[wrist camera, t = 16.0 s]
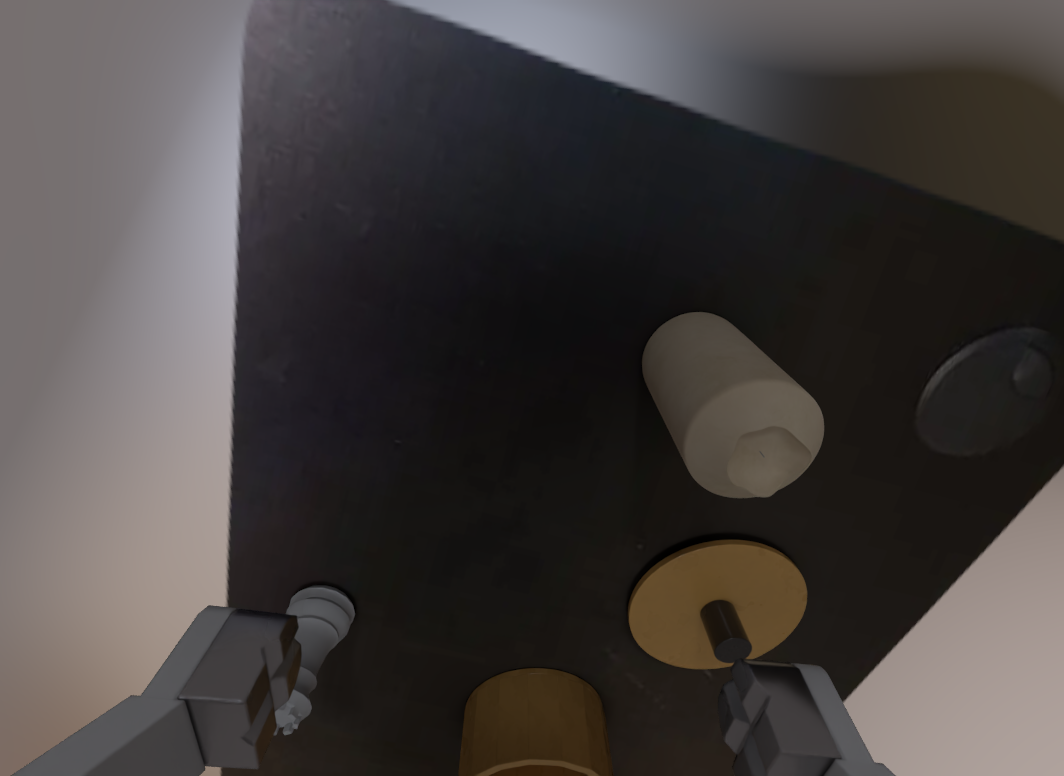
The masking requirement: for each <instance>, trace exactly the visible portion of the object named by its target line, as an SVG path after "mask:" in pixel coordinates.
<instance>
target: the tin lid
mask: <svg viewBox="0 0 1064 776" xmlns="http://www.w3.org/2000/svg"><path fill="white" fill-rule="evenodd" d="M806 603H807V589H806V584H805V581H804V579H803V576H802V575H801V573H800V572H799V570H798V568H797V567H796V565H795V564H794V563H793V562H792V561H791V560H790V559H789V558H788V557H787V556H785V555H784V554H783V553H781V552H779V551H778V550H776V549H774V548H772V547H769V546H767V545H764V544H761V543H757V542H753V541H746V540H716V541H710V542H704V543H700V544H697V545H693V546H690V547H687V548H685V549H682V550H679V551H677V552H675V553H673V554H671V555H669V556H668V557H666V558H664V559H663V560H661V561H660V562H658V563H657V564H656V565H655V566H653V567H652V568H651V569H650V570H649V571H648V572H647V573H646V574H645V575H644V576H643V577H642V578H641V580H640V581H639V582H638V583H637V585H636V587H635V589H634V590H633V592H632V595H631V598H630V600H629V605H628V621H629V626H630V630H631V632H632V635H633V637H634V638H635V640H636V642H637V643H638V644H639V645H640V647H641V648H642V649H643V650H644V651H646V652H647V653H648V654H649V655H651V656H653V657H654V658H656V659H658V660H660V661H662V662H664V663H667V664H670V665H673V666H678V667H683V668H690V669H715V668H722V667H728V666H733V664H734V662H735V661H736V660H738V659H740V658H743V659H754V658H756V657H759V656H760V655H762V654H764V653H766V652H768V651H769V650H771V649H773V648H774V647H776V646H777V645H778V644H780V643H781V642H782V641H783V640H784V639H786V638H787V637H788V636H789V635H790V634H791V633H792V631H793V630H794V629H795V627H796V626H797V625H798V623H799V621H800V620H801V618H802V616H803V613H804V611H805V608H806Z"/></svg>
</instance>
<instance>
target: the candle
mask: <svg viewBox="0 0 1064 776" xmlns="http://www.w3.org/2000/svg"><path fill="white" fill-rule="evenodd" d="M642 371H643V376H644V380H645V382H646V384H647V387H648V389H649V391H650V393H651V395H652V397H653V399H654V401H655V403H656V405H657V407H658V410H659V412H660V414H661V416H662V418H663V420H664V422H665V424H666V426H667V428H668V430H669V432H670V434H671V436H672V438H673V440H674V442H675V444H676V446H677V448H678V450H679V452H680V454H681V456H682V458H683V460H684V462H685V464H686V466H687V468H688V470H689V472H690V474H691V475H692V477H693V478H694V479H695V481H696V482H697V483H699V484H700V485H701V486H702V487H704V488H705V489H707V490H708V491H710V492H713V493H715V494H718V495H721V496H725V497H731V498H750V497H769V496H771V495H773V494H774V493H775V492H776V491H777V490H779V489H782V488H783V487H785V486H787V485H788V484H790V483H791V482H793V481H794V480H796V479H797V478H798V477H799V476H800V475H801V474H802V473H803V472H804V471H805V470H806V469H807V468H808V467H809V465H810V464H811V463H812V461H813V460H814V458H815V457H816V455H817V453H818V451H819V449H820V446H821V444H822V440H823V435H824V420H823V416H822V412H821V410H820V408H819V406H818V404H817V403H816V401H815V400H814V399H813V398H812V397H811V396H810V395H809V394H808V393H807V392H806V391H805V390H804V389H803V388H802V387H801V386H800V385H798V384H797V383H796V382H795V381H794V380H793V379H792V378H791V377H790V376H789V375H788V374H786V373H785V372H784V371H783V370H782V369H781V368H780V367H779V366H778V365H777V364H775V363H774V362H773V361H772V360H771V359H770V358H769V357H768V356H767V355H766V354H764V353H763V352H762V351H761V350H760V349H759V348H758V347H757V346H756V345H755V344H753V343H752V342H751V341H750V340H749V339H748V338H747V337H746V336H745V335H744V334H743V333H741V332H740V331H739V330H738V329H737V328H736V327H735V326H733V325H732V324H731V323H730V322H728V321H727V320H725V319H724V318H722V317H719V316H717V315H714V314H711V313H706V312H691V313H686V314H682V315H679V316H677V317H674V318H672V319H670V320H669V321H667V322H666V323H664V324H663V325H662V326H660V327H659V328H658V329H657V330H656V331H655V332H654V334H653V335H652V336H651V338H650V339H649V341H648V343H647V345H646V347H645V350H644V352H643V357H642Z"/></svg>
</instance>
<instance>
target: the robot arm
mask: <svg viewBox="0 0 1064 776" xmlns="http://www.w3.org/2000/svg"><path fill="white" fill-rule="evenodd" d="M298 629H299V626H298V620H297V615H288V614H280V613H271V612H263V611H254V610H246V609H239V608H230V607H219V606H207V607H206V608H205V609H204V610H203V611H201V612H200V613H199V614H198V615H197V617H196V618H195V620H194V621H193V622H192V624H191V625H190V627H189V628H188V629H187V631H186V632H185V634H184V635H183V637H182V638H181V639H180V641H179V642H178V644H177V645H176V646H175V648H174V649H173V651H172V652H171V654H170V655H169V656H168V658H167V659H166V661H165V662H164V664H163V665H162V666H161V668H160V669H159V671H158V672H157V674H156V675H155V676H154V678H153V679H152V681H151V682H150V683H149V685H148V686H147V688H146V689H145V690H144V692H143V693H142V695H141V696H134V695H133V696H132V695H131V696H130V697H128V698H127V699H125V700H124V701H122V702H121V703H119V704H118V705H116V706H115V707H113V708H112V709H110V710H109V711H107V712H106V713H104V714H103V715H101V716H100V717H98V718H97V719H95V720H94V721H92V722H91V723H89V724H88V725H86V726H85V727H83V728H82V729H80V730H79V731H77V732H76V733H74V734H73V735H71V736H70V737H68V738H67V739H65V740H64V741H62V742H61V743H59V744H58V745H56V746H55V747H53V748H52V749H50V750H49V751H47V752H46V753H44V754H43V755H41V756H40V757H38V758H37V759H35V760H34V761H32V762H31V763H29V764H28V765H26V766H25V767H23V768H22V769H20V770H19V771H17V772H16V773H14V774H13V775H11V776H199V775H201V774H202V773H203V771H205V766H211V767H229V768H248V769H259V766H260V764H261V762H262V760H263V757H264V755H265V753H266V751H267V748H268V746H269V744H270V742H271V739H272V737H273V735H274V733H275V730H276V728H277V723H276V717H275V711H276V710H278V709H279V708H280V707H281V706H282V705H284V704H285V703H286V702H287V701H289V698H290V696H291V694H292V691H293V689H294V687H295V684H296V681H297V677H298V673H299V670H300V666H301V657H302V650H301V644H300V643H299V642H298V641H297V640H296V639H295V638H294V637H295V635H296V633H297V631H298ZM731 673H732V676H733V679H732V680H731V681H729V682H727V683H726V684H724V685H723V687H722V689H721V692H720V694H719V698H718V717H719V723H720V728H721V731H722V735H723V738H724V741H725V742H726V743H727V744H728V745H729V747H730V748H731V749H732V750H733V751H734V752H735V753H736V757H735V760H734V763H733V766H732V769H733V772H734V775H735V776H895V775H894V774H893V773H892V772H891V771H890V770H889V769H888V768H887V767H886V766H885V765H884V764H882V763H875V762H874V761H873V759H872V757H871V755H870V753H869V752H868V750H867V748H866V746H865V744H864V742H863V740H862V738H861V736H860V735H859V733H858V731H857V729H856V727H855V725H854V723H853V721H852V719H851V717H850V716H849V714H848V712H847V710H846V708H845V706H844V704H843V702H842V700H841V699H840V697H839V695H838V693H837V691H836V689H835V687H834V685H833V683H832V682H831V680H830V678H829V676H828V674H827V672H826V671H825V670H824V669H823V668H822V667H820V666H816V665H805V664H791V663H790V662H780V661H768V660H756V659H743V658H740V659H738V660H736V661H735V662H734V664H733V666H732V668H731Z"/></svg>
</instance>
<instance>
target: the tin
mask: <svg viewBox="0 0 1064 776" xmlns="http://www.w3.org/2000/svg"><path fill="white" fill-rule="evenodd" d="M458 776H614V775H613V768H612V761H611V754H610V747H609V740H608V733H607V726H606V719H605V713H604V711H603V706H602V702H601V699H600V697H599V695H598V693H597V692H596V691H595V689H594V688H593V687H592V686H591V685H589V684H588V683H587V682H585V681H584V680H582V679H580V678H579V677H577V676H574V675H572V674H569V673H566V672H563V671H559V670H553V669H545V668H526V669H518V670H513V671H509V672H505V673H502V674H499V675H497V676H494V677H492V678H490V679H488V680H487V681H485V682H484V683H482V684H481V685H480V686H478V687H477V688H476V689H475V690H474V691H473V693H472V694H471V695H470V697H469V699H468V701H467V703H466V707H465V715H464V725H463V735H462V745H461V755H460V765H459V775H458Z"/></svg>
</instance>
